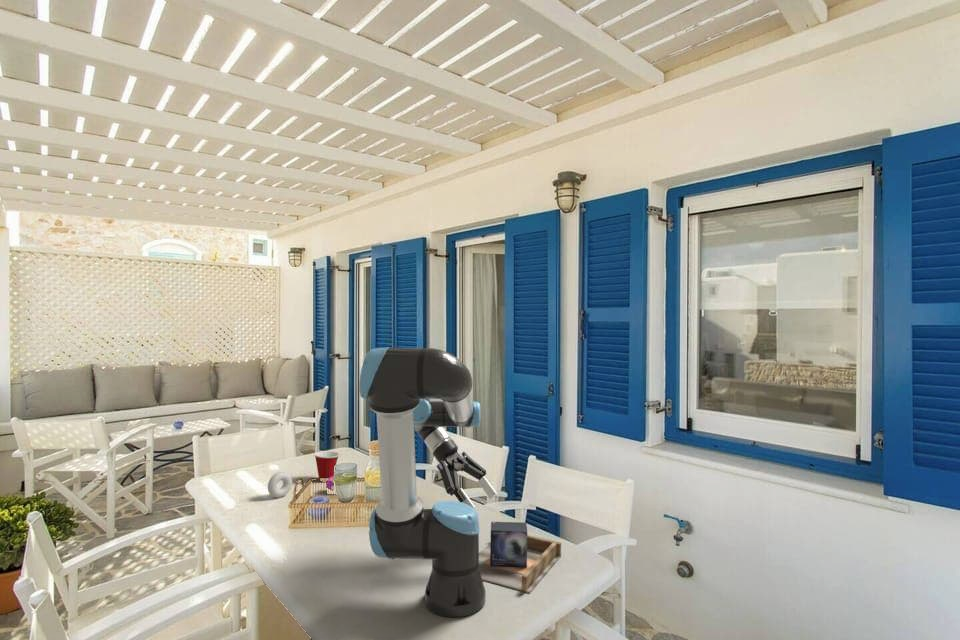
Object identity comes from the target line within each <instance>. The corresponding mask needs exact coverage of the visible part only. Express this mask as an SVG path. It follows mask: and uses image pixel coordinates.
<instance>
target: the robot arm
mask: <svg viewBox="0 0 960 640" xmlns="http://www.w3.org/2000/svg"><path fill="white" fill-rule="evenodd" d="M358 384H359V385H358V388H359V390H358V391H359V395H360V397H361V398H362V399H364V400H368V405H369V407H368V408H369V409H370V410H371V411H372V412H374V413H375V414H376V428H377V444H378V445H377V446H378V458H379V460H378V461H379V462H378V463H379V477H380V479H379V480H380V495H381V496H380V497H381V499H380V500H379V501H378V502H377V504H376V506H375V508H374V509H373V510H372V511H371V513H370V517H369V523H368V527H369V530H368V536H369V538H368V540H369V543H370V544H369V545H370V548H371V551H372V553H373V554H374V555H375V556H376V557H378V558H381V559H389V560H395V559H402V560H405V559H406V560H407V559H408V560H431V561H432V563H431V572H430V574H429V578H428V581H427V584H426V588H425V590H424V604H425V606H426V608H427V609H428V610H429V611H430V612H431V613H433V614H436V615H438V616H440V617H447V618H461V617H467V616H470V615H473V614H475V613H478V612H479V611H480V610H482V608H483V607H484V606H485V604H486V588H485V586H484V582H483V580H482V578H481V574H480V571H479V552H480V550H479V549H480V548H479V545H480V542H479V540H480V539H479V538H480V537H479V535H480V534H479V533H480V531H481V529H480V523H479V522H480V519H479V514H478V512H477V510H476V509H475V508H476V505H474V503H473V502H472V500H471V499H470V497H469V496H468V495H467V493H466V492H465V491H464V489H463V488H462V487H461V488H460V484H459V483H460V482H459V477H458V472H465V473H466V474H468V475H469V476H471V477H473V478H475V479H477V480H478V481H477V483H478V484H479V486H480V487H481V488H482V489H483V491H484V492H485V494H486V495H487V497H488V498H489V499H490V500H491V499H493V498H494V497H495V496H496V495H497V494H498V493H497V491H496V490H495V488H494V487H493V485H492V484H491V482H489V480H488V478H487V477H485V476H486V475H487V470H486V469H485V468H484V467H482V466H481V465H480V464H479V463H478V462H476V461H475V460H474V459H472V458H471V457H470V456H469V455H468V454H467V453H466V452H465V451H462V453H461V454H460V453H459V452H458V450H459V447H458V445H457V444H456V442H455V441H454V439H452V438H451V436H450V434H449V433H448V431H447V430H446V429H445V427H448V428H449V427H453V428H458V427H459V428H473V427H474V428H476V427H480V425H481V403H480V402H478V401H473V400H472V395H471V391H472V388H473V378H472V374H471V372H470V370H469V367H467V366H466V364H465V363H464V362H462V360H460V359H459V358H458V357H456V356H455V355H453V354H451V353H449V352H448V351H445V350H442V349H439V348H432V347H426V348H425V347H420V348H419V347H418V348H417V347H416V348H415V347H413V348H412V347H389V346H387V347H378V348H372V349H370V350H369V351H368V352H367V353H366V355H365V356H364V359H363V362H362V366H361V369H360V376H359V383H358ZM430 399H431V400H430ZM433 399H435V400H436V399H437V400H438V401H437V400H436V401H433ZM439 400H441V401H439ZM415 432H416V433H417V434H418V436H419V437H420V438H421V439H422V440H423V443H425V445H426V446H427V448H428V449H429V451H430V453H432V456H433V457H434V458H435V460H436V461H437V462H438V464H437V465H436V467H437V469H438V471H439V473H440V477H441V479H442V483H443V486H444V489H445V492H446V493H447V495H450V496H453V495H454V496H455V497H456V499H457V500H458V501H456V500H444V501H442V500H440V501H437V502H434V504H433V506H432V508H424V502H423V500H422V499H421V497H419V496H418V495H417V473H416V471H417V469H416V467H417V466H416V450H415V449H416V445H415V444H416V443H415Z"/></svg>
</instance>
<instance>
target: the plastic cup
mask: <svg viewBox="0 0 960 640" xmlns="http://www.w3.org/2000/svg"><path fill="white" fill-rule="evenodd" d="M313 454H314V457H315V462H316V468H317V470H316V471H317V475H318V479H319V478H330V477H335V472H334V466H335V465H336V466H337V464H338V463H337V462H338V458H339V457H340V453H339V452H337V451H330V450H329V451H328V450H323V451H317V452H314V453H313Z"/></svg>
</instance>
